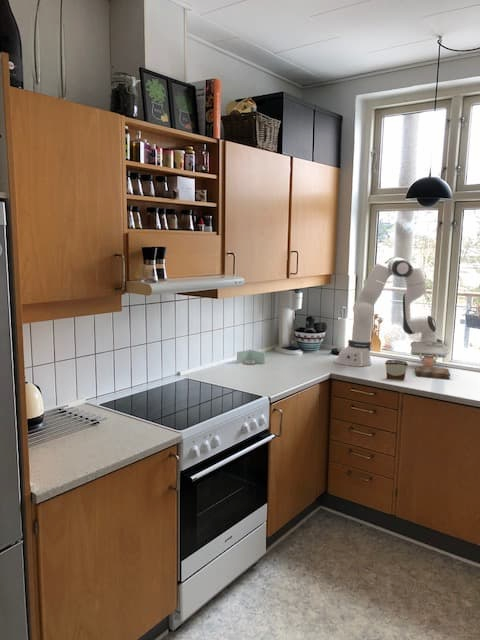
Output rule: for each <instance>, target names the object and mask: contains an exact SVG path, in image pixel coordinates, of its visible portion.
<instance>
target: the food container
mask: <svg viewBox="0 0 480 640" xmlns="http://www.w3.org/2000/svg"><path fill="white" fill-rule="evenodd" d="M384 365H385V371H386V372H385V373H386V374H385V375H386V380H392V381H405V378H406V374H407V367H409V364H408V362H407V361H405V360H401V359H387V360H386V361H385V363H384Z"/></svg>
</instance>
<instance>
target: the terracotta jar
mask: <svg viewBox="0 0 480 640" xmlns="http://www.w3.org/2000/svg"><path fill="white" fill-rule="evenodd" d="M423 358H424V361H423V363H422V367H431V368H434V363H433V362H434V359H435V357H434V355H432V354H424V356H423Z"/></svg>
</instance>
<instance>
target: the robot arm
mask: <svg viewBox="0 0 480 640" xmlns="http://www.w3.org/2000/svg"><path fill="white" fill-rule="evenodd" d="M423 272H424V271H423V270H422V268H421V266H419V265H417V264H411V263H410V262H409V261H408V260H407V259H404V258H402V257H398V256H396V257H395V256H394V257H391V258H389V259H388V260H386V261H385V262H377V263H376V264H375V265H374V266H373V268H372V269H371V271H370V273H369V275H368V276H367V278H366V281H365V282H364V285H363V287H362V290H361V291H360V293H359V294H358V297H357V299H356V300H355V301H354V303H353V307H352V310H353V313H354V319H353V324H352V326H353V327H352V333H351V334H352V335H351V336H352V337H351V339H348V341H347V342H348V343H347V346H346V347H344V348H343V349H341V350H340V351H339V353H338V356H337V357H335V359H334V364H338V365H345V366H352V367H353V366H354V367H358V368H359V367H365V366H371V365H372V361H371V349H372V348H371V347H372V342H371V337H372V336H371V335H372V326H373V320H374V313H375V309H374V308H375V307H374V306H375V304H376V303H377V301H378V300H379V298H380V296H381V294H382V292H383V290H384V288H385V285H386V284H387V282H388V279H389V278H390V276H395V277H399V278H404V280H405V285H406V291H405V292H404V294H403V295H402V314H403V315H402V318H403V321H402V329H403V331H404V333H406V334H408V335H413V334H417V333H418V334H419V333H420V335H421V336H420V341H415V340H414V341H412V342H410V347H411V348H410V349H411V350H410V355H412V356H418V357H419V359H420V362H423V361H424V354H432V355H434V362H433V364H436V362H437V360H438V358H442V359H443V358H444V359H445V358H446V357H447V347H446V345H445V341H444V340H443V339H439V338H436V334H437V324H436V319H435V318H433V317H432V316H431V315H422V316H417V317H412V316H411V304H412V303H413V302H414V301H416V300H418V299H419V298H421V297H422V296H423V295H424V294H425V293H426V291H427V284H426V280H425V275H424V273H423Z"/></svg>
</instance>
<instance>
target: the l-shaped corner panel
mask: <svg viewBox="0 0 480 640" xmlns="http://www.w3.org/2000/svg"><path fill="white" fill-rule="evenodd" d="M242 363H244V365H247V366H254V365H255V364H256V363H257V364H261V365H265V364H266V352H263V351H259V350H254V349H247V350H241V351H237V352H236V364H242Z"/></svg>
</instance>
